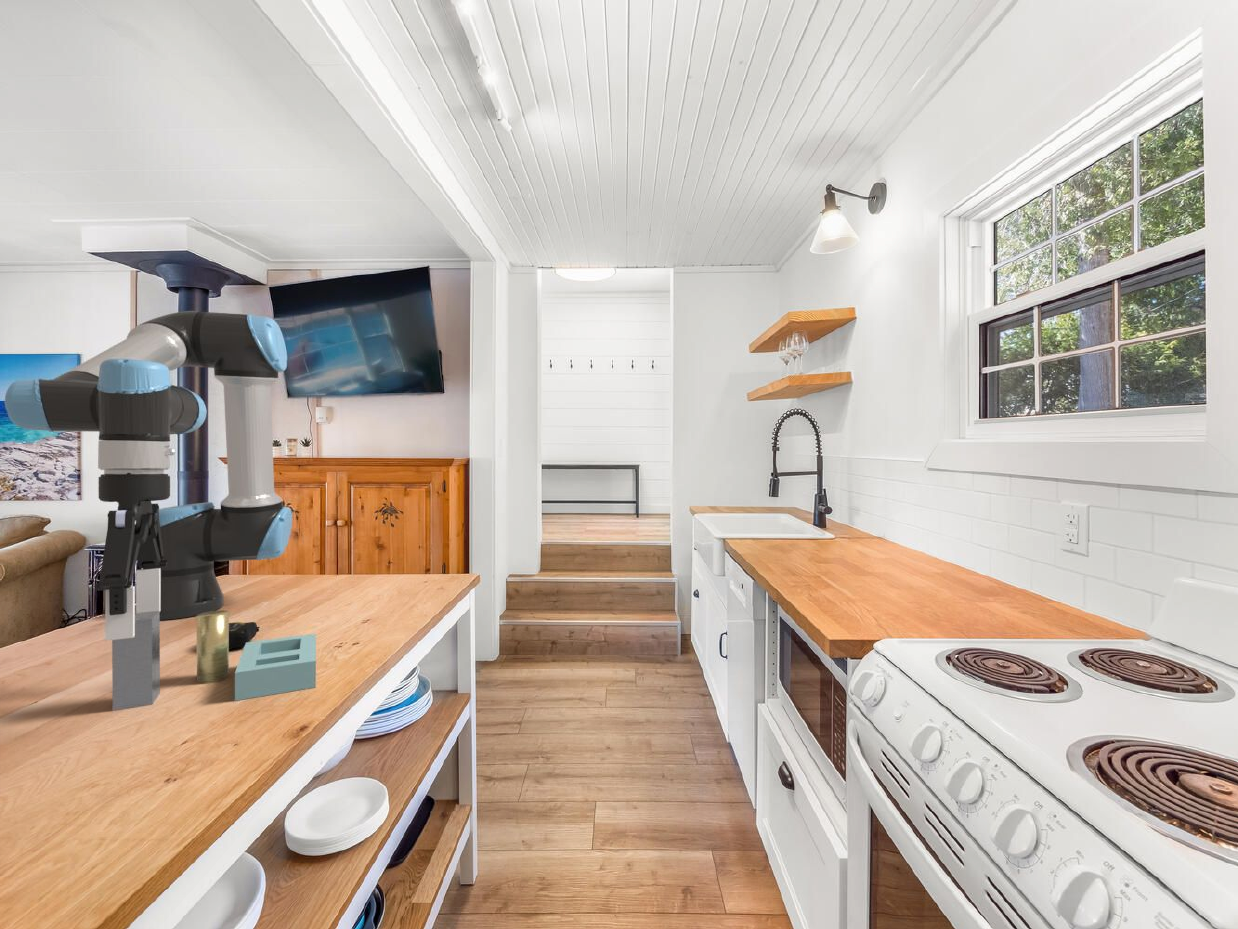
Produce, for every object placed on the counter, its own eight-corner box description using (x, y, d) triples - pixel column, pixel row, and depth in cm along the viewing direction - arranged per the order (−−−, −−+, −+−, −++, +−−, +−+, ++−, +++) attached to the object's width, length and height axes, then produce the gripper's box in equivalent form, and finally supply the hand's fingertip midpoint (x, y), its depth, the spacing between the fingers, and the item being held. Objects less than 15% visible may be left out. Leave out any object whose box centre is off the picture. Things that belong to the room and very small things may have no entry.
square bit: (122, 698, 79) (121, 614, 79) (160, 692, 81) (159, 610, 81) (112, 710, 75) (112, 622, 75) (152, 704, 77) (151, 618, 77)
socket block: (246, 666, 91) (246, 642, 91) (315, 656, 95) (315, 633, 95) (234, 700, 78) (234, 672, 78) (315, 687, 83) (315, 660, 83)
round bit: (199, 675, 87) (199, 612, 87) (230, 671, 89) (230, 609, 89) (194, 685, 83) (194, 619, 83) (226, 680, 85) (226, 615, 85)
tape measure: (247, 651, 98) (247, 630, 98) (201, 655, 96) (201, 633, 96) (259, 639, 105) (259, 619, 105) (216, 642, 103) (216, 622, 102)
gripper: (145, 474, 68) (145, 647, 68) (187, 470, 90) (187, 601, 90) (62, 474, 65) (62, 657, 65) (127, 470, 86) (127, 606, 87)
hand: (135, 624), depth 77 cm, fingers open, 13 cm apart
